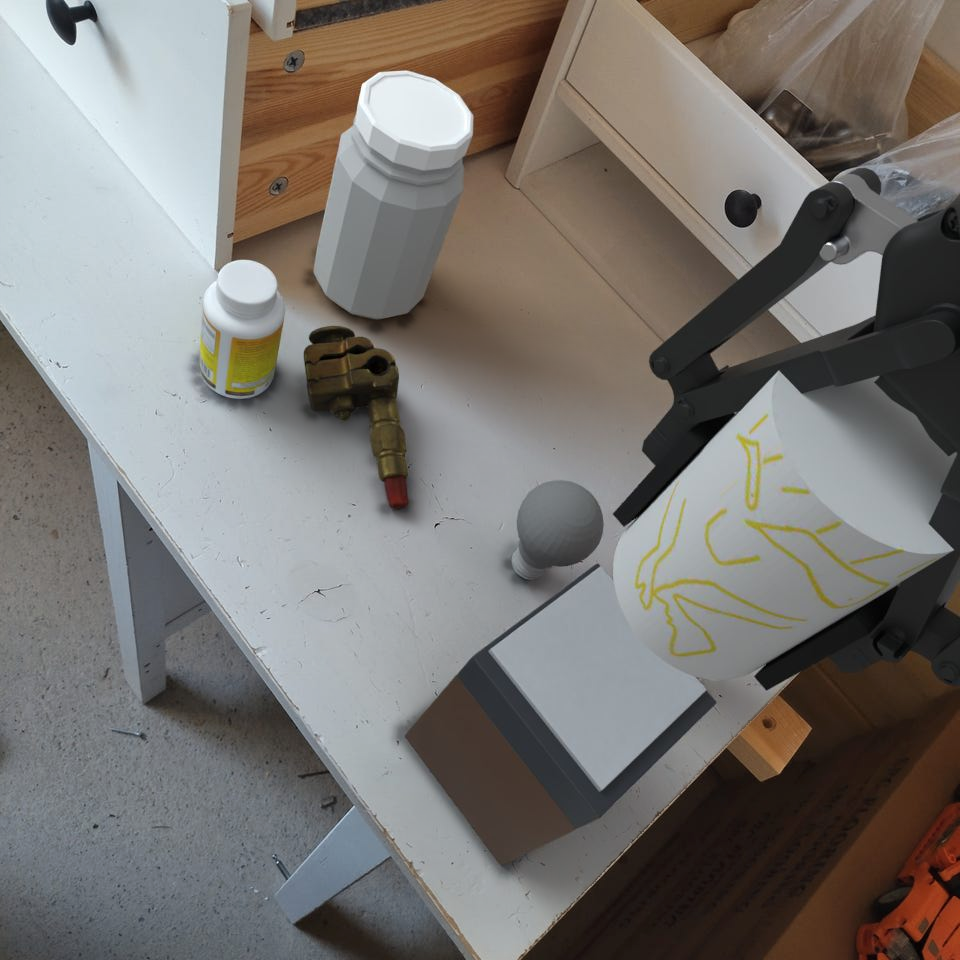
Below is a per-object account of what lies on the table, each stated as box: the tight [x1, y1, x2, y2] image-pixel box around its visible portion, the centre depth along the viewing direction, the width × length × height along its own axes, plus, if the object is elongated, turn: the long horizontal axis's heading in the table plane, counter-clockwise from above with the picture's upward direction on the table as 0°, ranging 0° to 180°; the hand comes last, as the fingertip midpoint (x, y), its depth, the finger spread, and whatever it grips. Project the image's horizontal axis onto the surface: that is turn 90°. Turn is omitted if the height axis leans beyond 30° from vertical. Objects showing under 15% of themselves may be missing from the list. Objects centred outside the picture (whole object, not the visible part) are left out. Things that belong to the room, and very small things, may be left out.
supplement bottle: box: [198, 259, 286, 400], centre depth 64 cm, size 6×6×10 cm
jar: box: [312, 70, 474, 321], centre depth 70 cm, size 10×10×18 cm
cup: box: [612, 371, 957, 681], centre depth 34 cm, size 8×8×12 cm
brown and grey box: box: [404, 562, 717, 866], centre depth 53 cm, size 10×10×15 cm
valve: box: [303, 325, 410, 510], centre depth 68 cm, size 7×15×5 cm, turn 21°
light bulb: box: [511, 479, 605, 580], centre depth 63 cm, size 6×6×10 cm
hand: (706, 583), depth 38 cm, fingers closed on cup, 8 cm apart
